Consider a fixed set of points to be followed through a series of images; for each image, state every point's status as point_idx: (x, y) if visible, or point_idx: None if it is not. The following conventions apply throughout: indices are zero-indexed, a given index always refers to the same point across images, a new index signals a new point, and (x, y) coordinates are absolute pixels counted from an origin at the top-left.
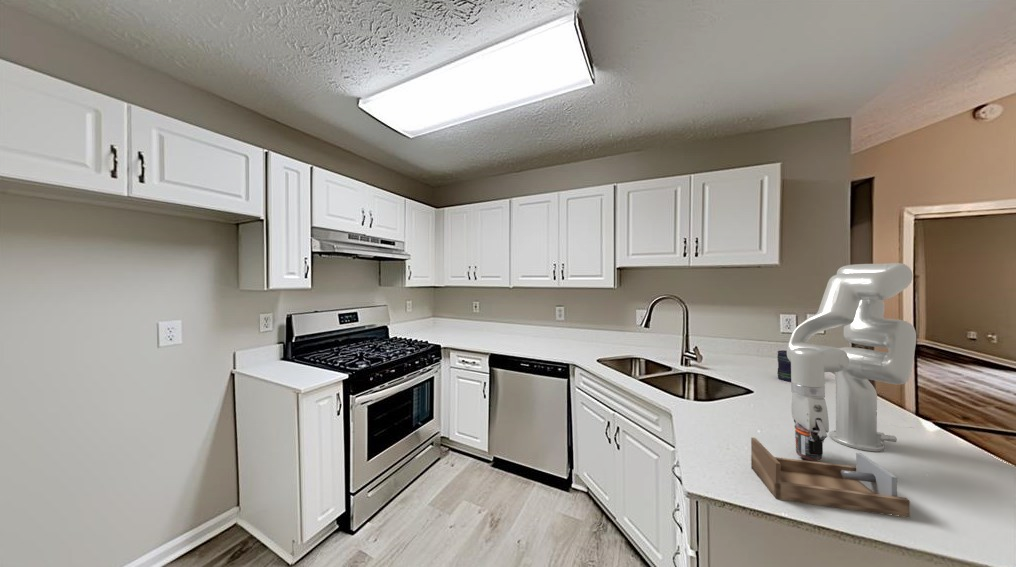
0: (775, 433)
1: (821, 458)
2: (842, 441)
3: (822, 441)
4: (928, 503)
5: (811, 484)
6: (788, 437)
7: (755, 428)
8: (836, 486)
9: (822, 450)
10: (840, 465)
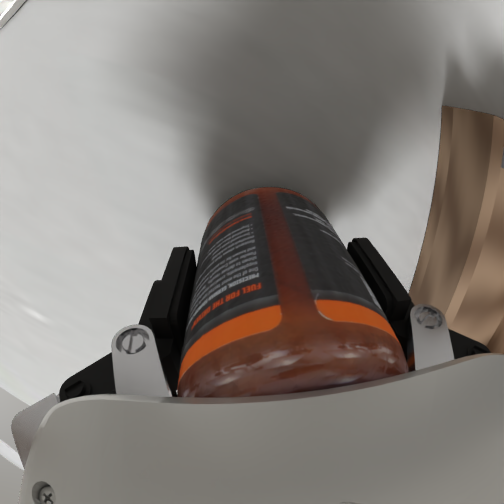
0: (16, 262)
1: (316, 206)
2: (12, 4)
3: (438, 319)
4: (499, 13)
5: (467, 321)
6: (23, 223)
7: (21, 314)
8: (488, 260)
9: (377, 253)
10: (482, 226)
